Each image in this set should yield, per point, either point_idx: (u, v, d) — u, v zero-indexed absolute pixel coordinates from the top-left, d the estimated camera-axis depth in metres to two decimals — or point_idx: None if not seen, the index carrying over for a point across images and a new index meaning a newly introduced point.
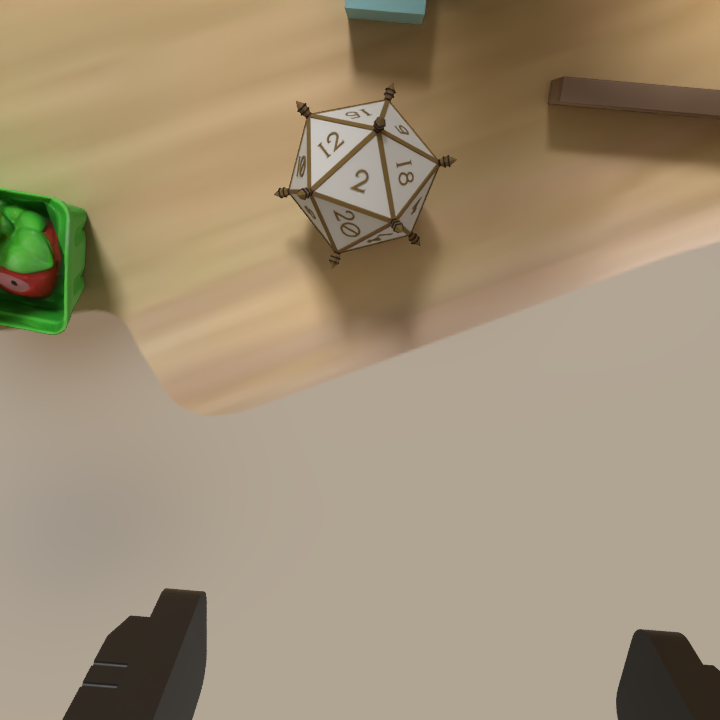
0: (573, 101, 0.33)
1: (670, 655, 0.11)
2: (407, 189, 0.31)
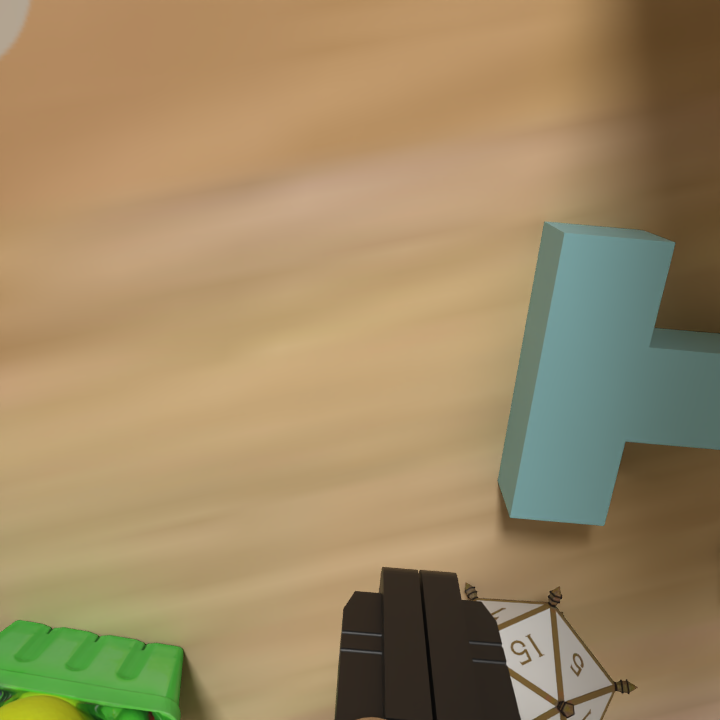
0: None
1: (434, 590, 0.12)
2: None
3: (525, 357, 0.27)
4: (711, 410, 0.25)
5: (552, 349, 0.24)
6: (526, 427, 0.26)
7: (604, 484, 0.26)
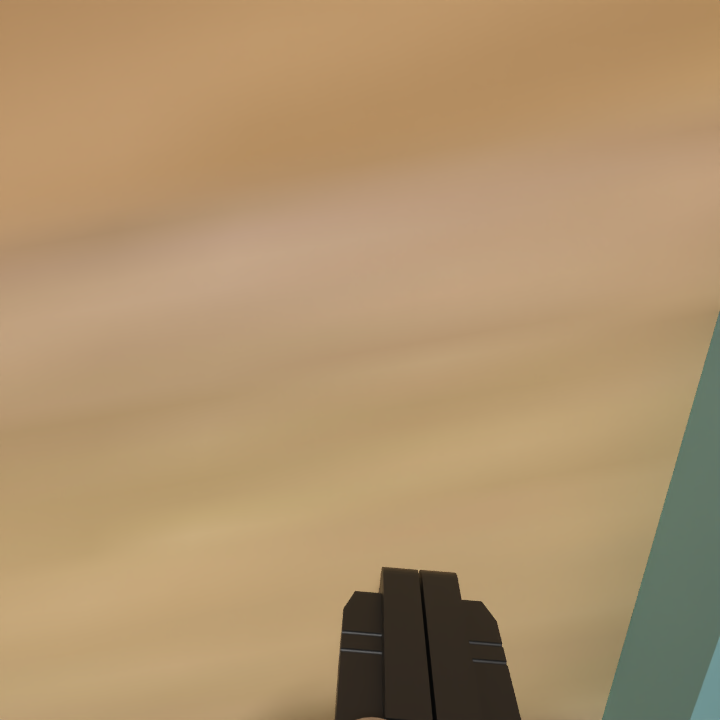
0: None
1: (434, 590, 0.12)
2: None
3: (668, 569, 0.14)
4: None
5: None
6: None
7: None
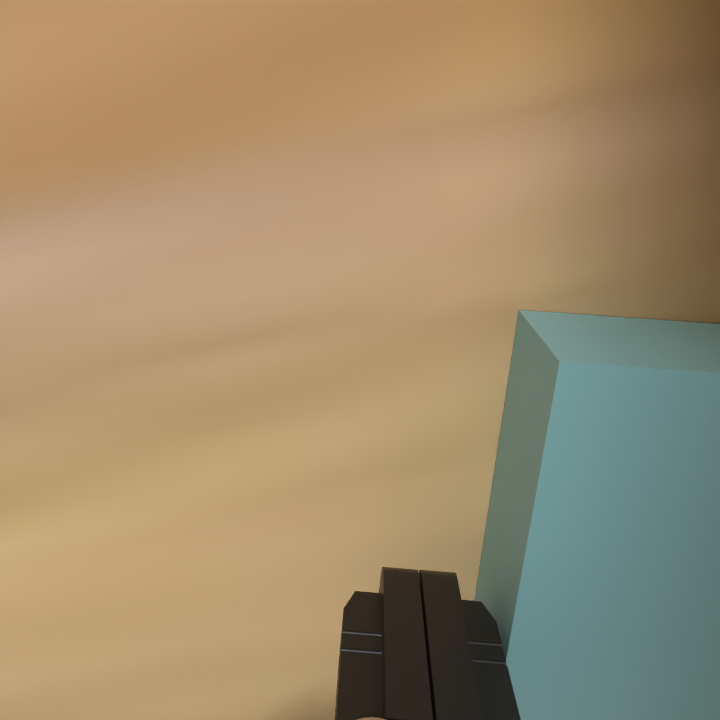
0: None
1: (434, 590, 0.12)
2: None
3: (489, 575, 0.13)
4: None
5: (539, 601, 0.11)
6: None
7: None
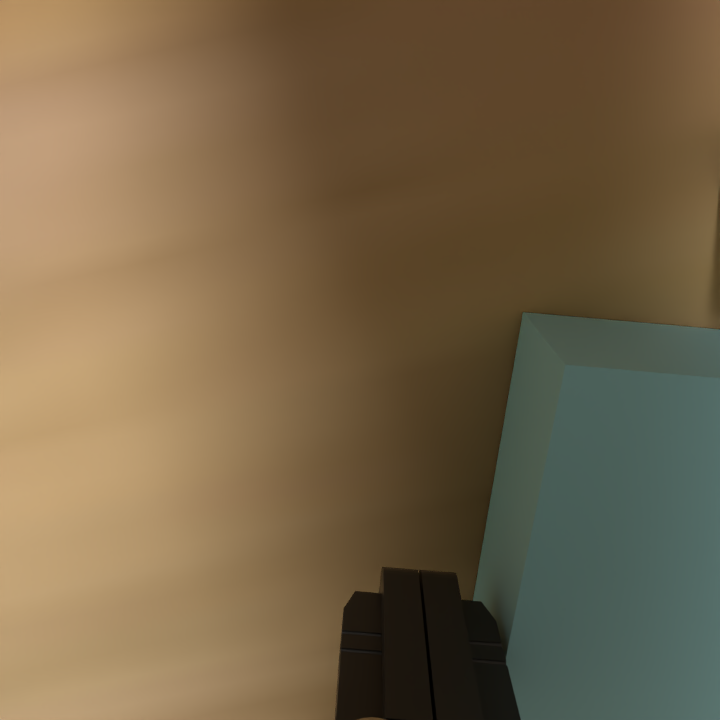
0: None
1: (434, 590, 0.12)
2: None
3: (488, 577, 0.13)
4: None
5: (539, 603, 0.11)
6: None
7: None
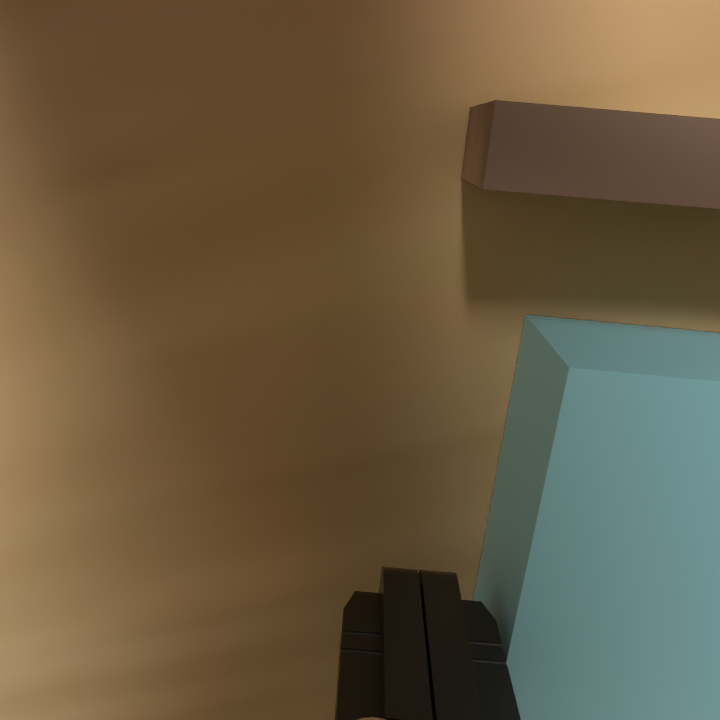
0: None
1: (434, 590, 0.12)
2: None
3: (488, 578, 0.13)
4: None
5: (540, 605, 0.11)
6: None
7: None
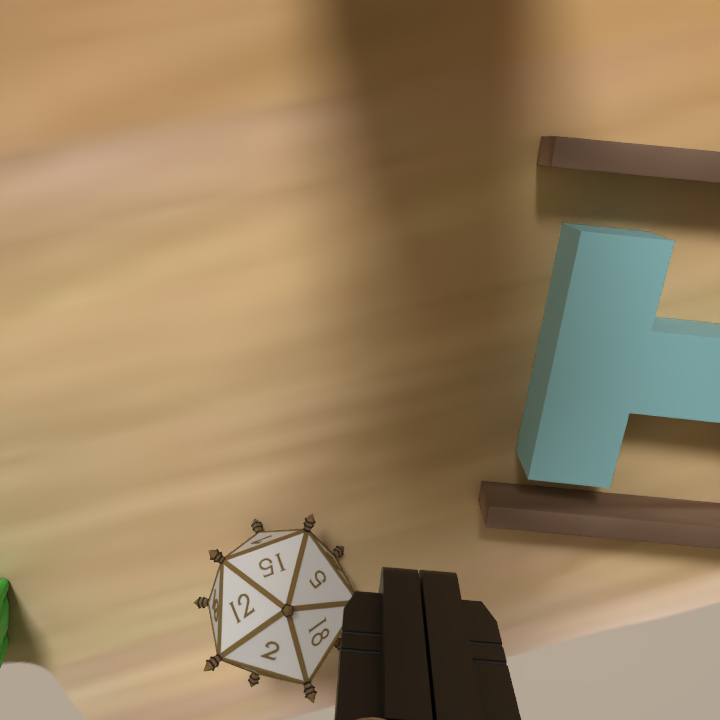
0: (499, 527, 0.32)
1: (434, 590, 0.12)
2: (322, 646, 0.30)
3: (543, 340, 0.31)
4: (704, 387, 0.29)
5: (568, 331, 0.28)
6: (544, 399, 0.30)
7: (610, 451, 0.30)
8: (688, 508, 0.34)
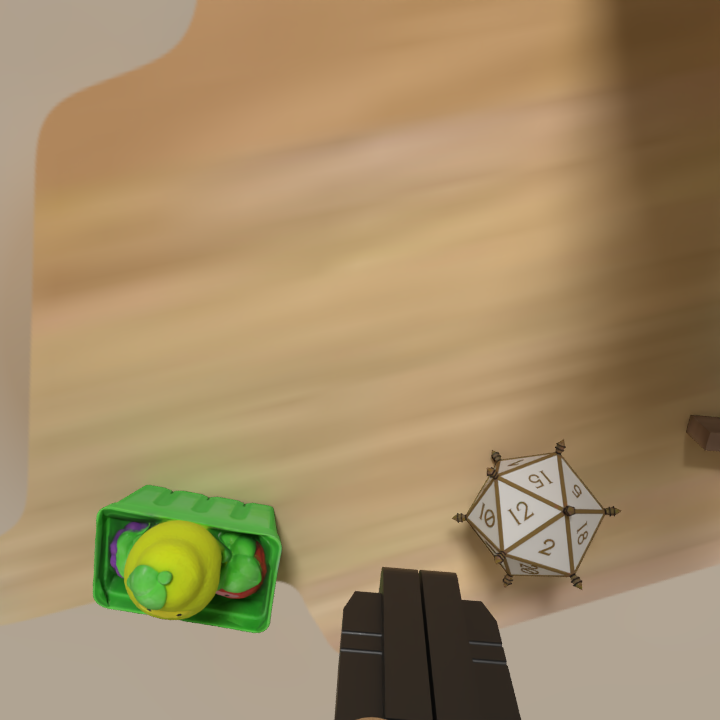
0: (717, 450, 0.39)
1: (434, 590, 0.12)
2: (583, 545, 0.36)
3: None
4: None
5: None
6: None
7: None
8: None
